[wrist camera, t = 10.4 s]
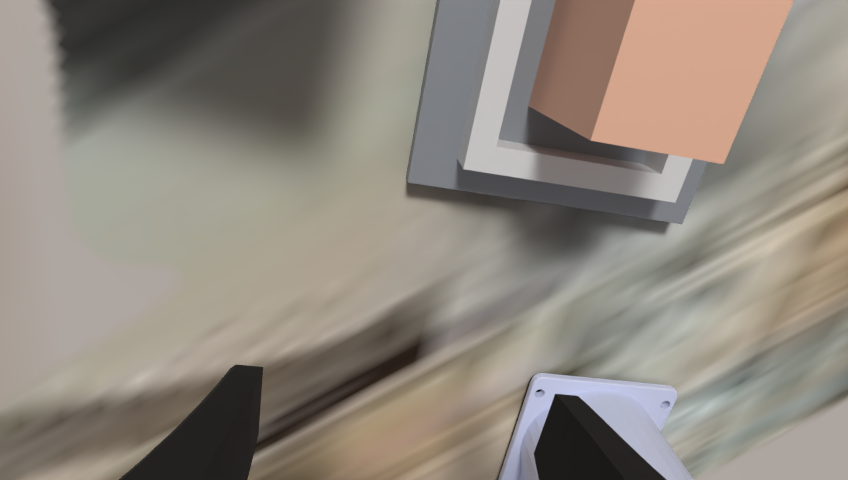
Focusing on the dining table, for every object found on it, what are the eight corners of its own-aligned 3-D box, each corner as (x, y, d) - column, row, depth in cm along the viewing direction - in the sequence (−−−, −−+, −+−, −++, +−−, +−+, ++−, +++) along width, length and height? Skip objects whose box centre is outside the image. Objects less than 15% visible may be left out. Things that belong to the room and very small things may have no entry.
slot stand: (669, 215, 22) (702, 238, 20) (406, 175, 20) (410, 194, 18) (821, -164, 17) (891, -194, 15) (483, -265, 15) (501, -316, 13)
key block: (696, -84, 17) (852, -136, 11) (625, 123, 19) (723, 164, 14) (585, -113, 16) (692, -183, 11) (528, 105, 19) (590, 140, 13)
